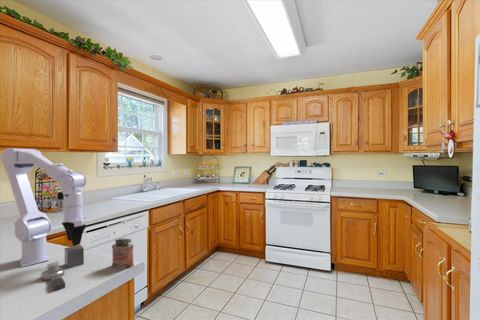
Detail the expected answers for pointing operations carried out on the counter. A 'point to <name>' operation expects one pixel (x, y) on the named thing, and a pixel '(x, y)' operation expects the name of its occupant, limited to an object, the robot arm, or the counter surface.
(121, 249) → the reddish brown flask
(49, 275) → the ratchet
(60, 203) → the glass holder
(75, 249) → the brushed dark grey cube
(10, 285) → the counter surface
